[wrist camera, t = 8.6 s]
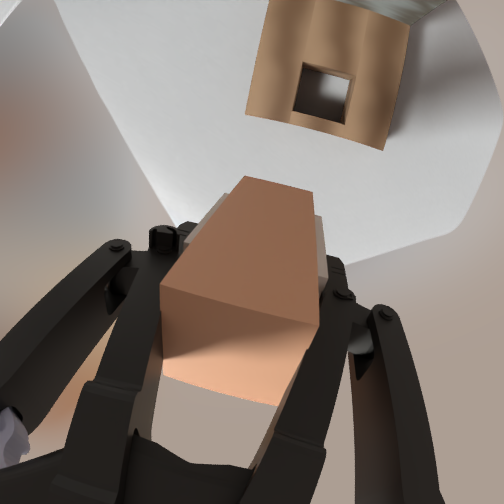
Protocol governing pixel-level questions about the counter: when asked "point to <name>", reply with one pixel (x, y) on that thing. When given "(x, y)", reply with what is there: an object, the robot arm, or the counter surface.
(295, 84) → the socket stand
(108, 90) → the counter surface
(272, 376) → the peg
